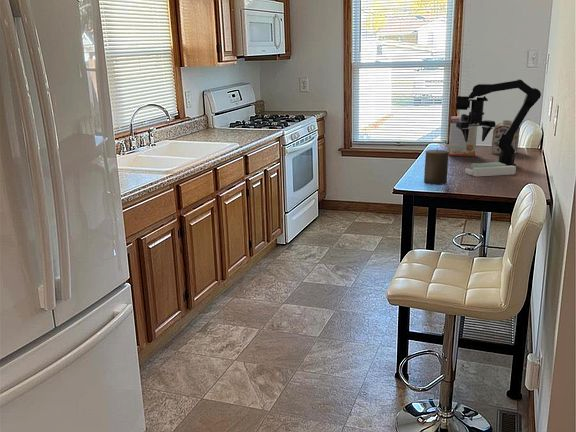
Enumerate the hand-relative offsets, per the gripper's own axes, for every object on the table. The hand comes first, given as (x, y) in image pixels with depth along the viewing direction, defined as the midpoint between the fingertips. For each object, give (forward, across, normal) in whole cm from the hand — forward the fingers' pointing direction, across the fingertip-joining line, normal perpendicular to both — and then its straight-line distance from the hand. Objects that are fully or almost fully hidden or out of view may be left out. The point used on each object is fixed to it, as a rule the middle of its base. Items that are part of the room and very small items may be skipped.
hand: (474, 141), depth 285 cm
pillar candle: (+11, +38, +35) cm, 53 cm away
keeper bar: (+11, +5, +23) cm, 26 cm away
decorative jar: (+11, -32, -22) cm, 40 cm away
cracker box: (+11, -6, -22) cm, 25 cm away
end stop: (+11, +5, +25) cm, 27 cm away
